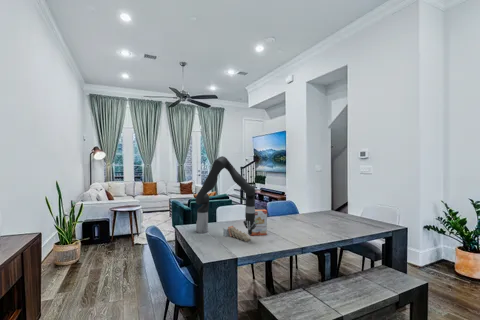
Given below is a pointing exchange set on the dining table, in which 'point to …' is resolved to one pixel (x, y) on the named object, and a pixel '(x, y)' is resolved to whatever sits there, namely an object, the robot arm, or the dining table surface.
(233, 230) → the domino
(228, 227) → the domino
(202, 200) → the robot arm
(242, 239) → the domino
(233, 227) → the domino
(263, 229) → the cracker box
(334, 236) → the dining table surface
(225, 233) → the end block
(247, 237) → the domino
